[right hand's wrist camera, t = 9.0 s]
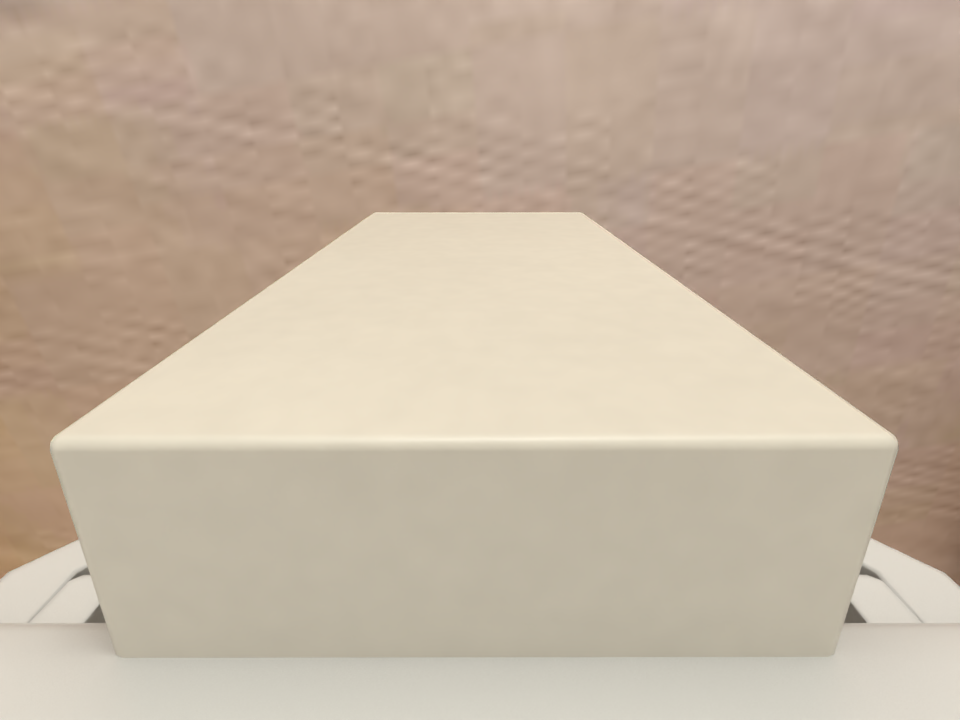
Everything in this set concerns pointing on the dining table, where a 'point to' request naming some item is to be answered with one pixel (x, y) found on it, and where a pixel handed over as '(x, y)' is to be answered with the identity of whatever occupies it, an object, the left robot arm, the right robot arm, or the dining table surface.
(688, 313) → the box
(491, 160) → the dining table surface
